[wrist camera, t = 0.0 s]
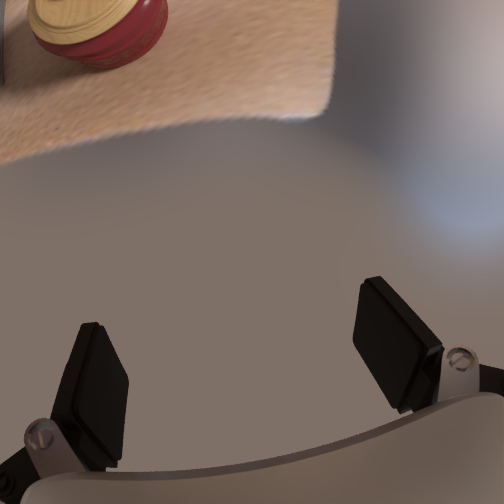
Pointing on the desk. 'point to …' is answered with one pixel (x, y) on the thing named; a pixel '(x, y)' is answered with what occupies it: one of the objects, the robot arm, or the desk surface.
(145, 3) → the canister
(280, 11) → the desk surface
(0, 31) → the board
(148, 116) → the desk surface
